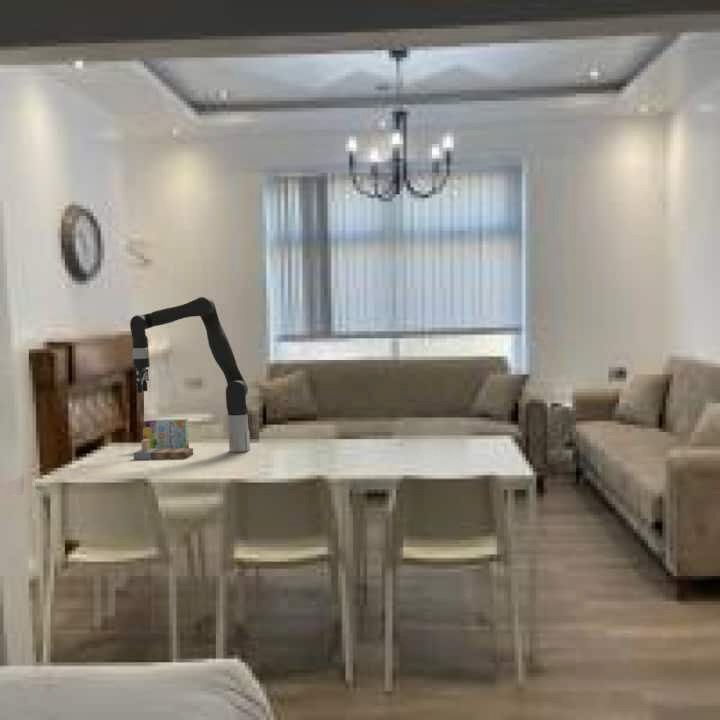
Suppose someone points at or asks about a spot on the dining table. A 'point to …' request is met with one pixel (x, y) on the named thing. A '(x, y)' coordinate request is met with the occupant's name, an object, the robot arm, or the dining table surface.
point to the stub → (144, 450)
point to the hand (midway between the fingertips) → (142, 391)
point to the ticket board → (172, 453)
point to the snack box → (166, 433)
